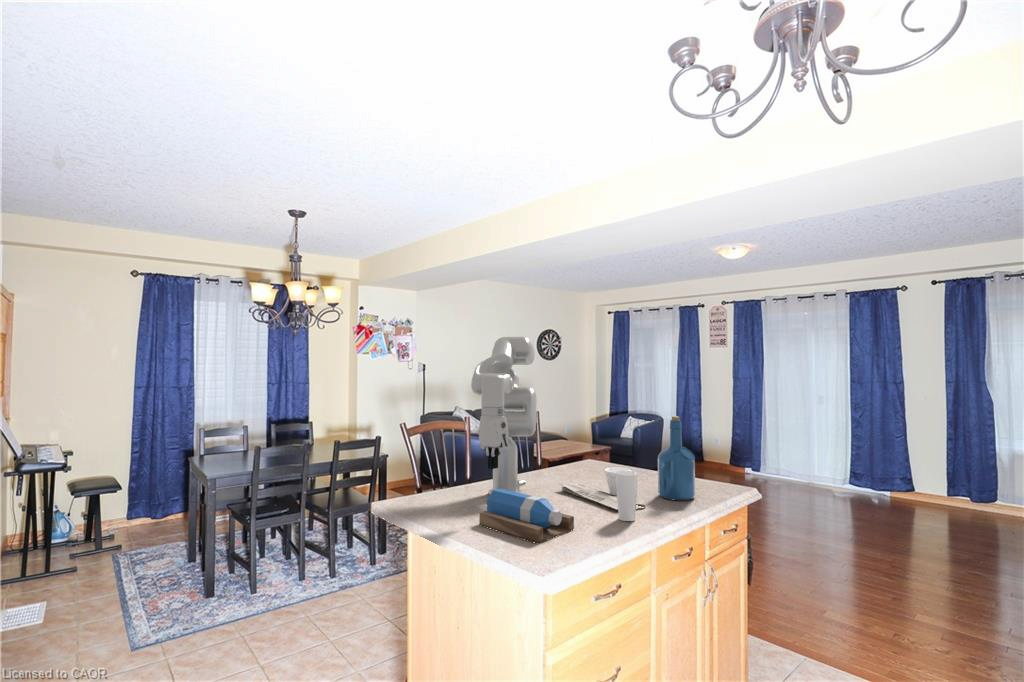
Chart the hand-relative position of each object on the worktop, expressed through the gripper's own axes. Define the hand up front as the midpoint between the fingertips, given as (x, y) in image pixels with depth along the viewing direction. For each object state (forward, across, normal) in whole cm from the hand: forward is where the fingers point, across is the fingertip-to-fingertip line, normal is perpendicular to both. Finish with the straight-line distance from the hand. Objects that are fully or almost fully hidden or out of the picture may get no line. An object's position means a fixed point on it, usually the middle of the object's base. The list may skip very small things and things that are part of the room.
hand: (493, 468), depth 171 cm
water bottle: (+11, -1, 0) cm, 11 cm away
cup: (+16, -14, -53) cm, 57 cm away
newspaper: (+17, -12, -42) cm, 47 cm away
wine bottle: (+16, -32, -65) cm, 74 cm away
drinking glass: (+16, -33, -28) cm, 46 cm away
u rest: (+16, -14, 0) cm, 22 cm away
